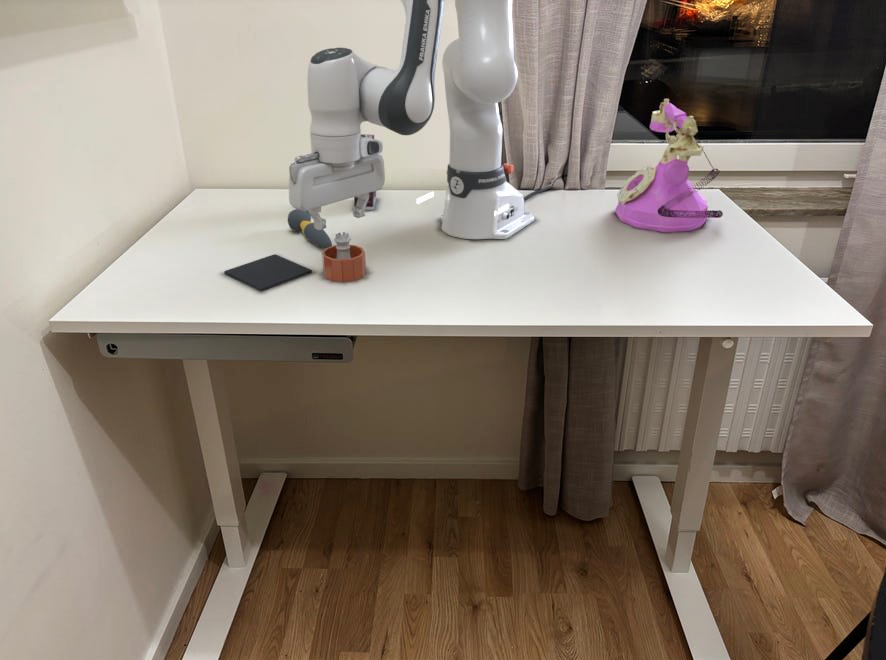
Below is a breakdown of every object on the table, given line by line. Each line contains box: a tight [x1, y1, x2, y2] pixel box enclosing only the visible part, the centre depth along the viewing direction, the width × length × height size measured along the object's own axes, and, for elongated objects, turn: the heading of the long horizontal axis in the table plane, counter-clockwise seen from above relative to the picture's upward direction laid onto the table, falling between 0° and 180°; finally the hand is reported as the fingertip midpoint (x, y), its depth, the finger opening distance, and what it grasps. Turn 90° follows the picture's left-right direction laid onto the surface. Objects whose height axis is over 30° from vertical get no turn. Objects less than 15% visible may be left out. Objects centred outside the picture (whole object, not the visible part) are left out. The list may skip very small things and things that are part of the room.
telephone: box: [615, 98, 724, 233], centre depth 162 cm, size 36×22×25 cm, turn 178°
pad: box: [224, 253, 313, 292], centre depth 145 cm, size 12×12×1 cm
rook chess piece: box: [333, 231, 352, 259], centre depth 142 cm, size 4×4×8 cm
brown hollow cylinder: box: [321, 244, 367, 283], centre depth 143 cm, size 8×8×4 cm
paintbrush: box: [287, 208, 333, 250], centre depth 160 cm, size 20×5×5 cm, turn 38°
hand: (340, 222), depth 139 cm, fingers open, 8 cm apart
